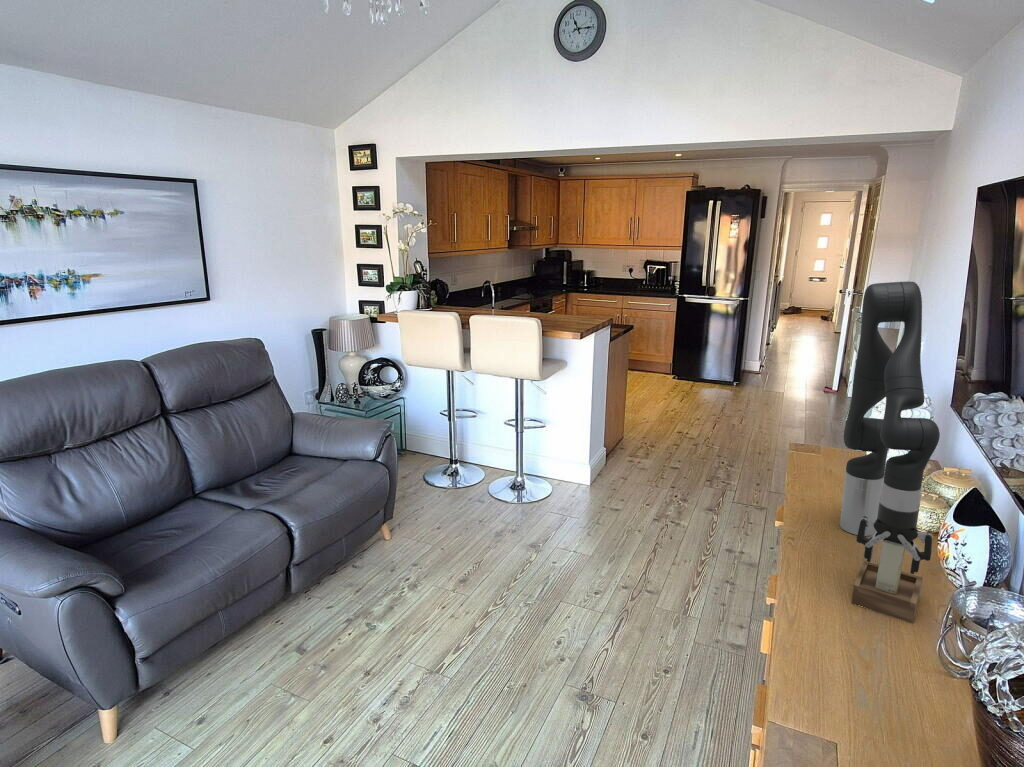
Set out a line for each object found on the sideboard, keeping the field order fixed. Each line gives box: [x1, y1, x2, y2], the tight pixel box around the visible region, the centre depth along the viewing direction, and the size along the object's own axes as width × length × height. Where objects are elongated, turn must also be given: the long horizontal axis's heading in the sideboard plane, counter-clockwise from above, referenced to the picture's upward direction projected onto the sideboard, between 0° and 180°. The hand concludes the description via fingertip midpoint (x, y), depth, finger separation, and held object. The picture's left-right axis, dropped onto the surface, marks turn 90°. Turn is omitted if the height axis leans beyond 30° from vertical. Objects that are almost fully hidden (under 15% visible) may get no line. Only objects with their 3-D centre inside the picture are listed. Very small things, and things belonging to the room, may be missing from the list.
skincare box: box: [875, 540, 906, 595], centre depth 135 cm, size 6×4×12 cm
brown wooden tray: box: [851, 560, 923, 624], centre depth 137 cm, size 12×12×6 cm
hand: (890, 566), depth 135 cm, fingers open, 8 cm apart
